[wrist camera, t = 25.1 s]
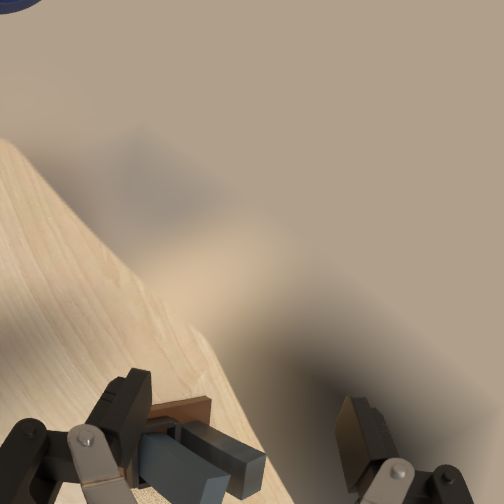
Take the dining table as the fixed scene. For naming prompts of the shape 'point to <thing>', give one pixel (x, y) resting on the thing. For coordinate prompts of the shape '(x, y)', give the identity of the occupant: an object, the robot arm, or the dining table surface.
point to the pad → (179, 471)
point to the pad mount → (202, 445)
